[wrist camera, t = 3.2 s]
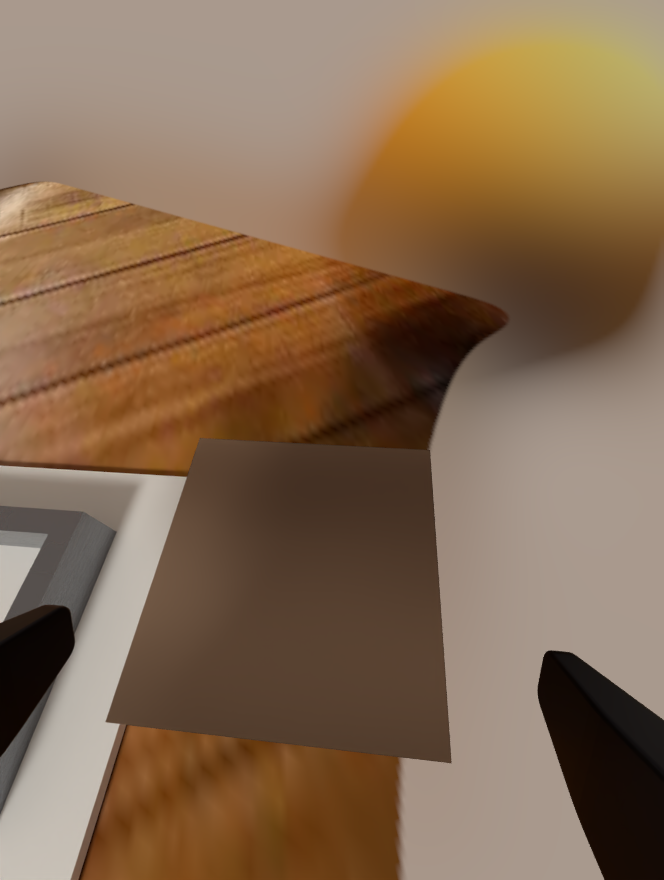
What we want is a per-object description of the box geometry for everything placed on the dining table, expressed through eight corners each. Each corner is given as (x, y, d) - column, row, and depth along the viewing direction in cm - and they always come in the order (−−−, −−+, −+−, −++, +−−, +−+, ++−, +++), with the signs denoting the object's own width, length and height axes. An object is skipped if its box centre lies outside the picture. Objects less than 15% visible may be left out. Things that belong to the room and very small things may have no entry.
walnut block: (386, 706, 13) (451, 763, 5) (253, 691, 14) (105, 721, 5) (387, 566, 16) (430, 449, 8) (276, 558, 16) (199, 438, 8)
